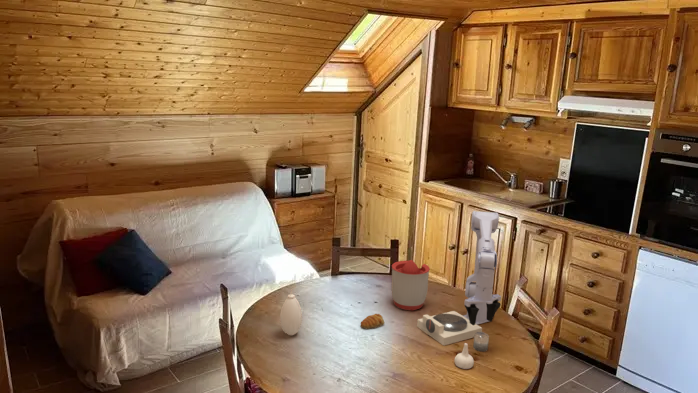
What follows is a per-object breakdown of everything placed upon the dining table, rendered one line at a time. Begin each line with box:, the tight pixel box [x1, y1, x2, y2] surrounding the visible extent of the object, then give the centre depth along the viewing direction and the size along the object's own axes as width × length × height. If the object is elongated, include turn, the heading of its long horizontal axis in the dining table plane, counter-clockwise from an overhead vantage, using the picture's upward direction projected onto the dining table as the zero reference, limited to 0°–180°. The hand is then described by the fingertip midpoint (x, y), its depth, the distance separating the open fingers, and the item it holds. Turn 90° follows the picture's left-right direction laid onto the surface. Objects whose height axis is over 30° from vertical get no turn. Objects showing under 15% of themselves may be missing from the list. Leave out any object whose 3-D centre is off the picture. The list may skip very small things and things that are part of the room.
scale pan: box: [433, 313, 467, 331], centre depth 197 cm, size 13×13×1 cm
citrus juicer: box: [390, 259, 430, 311], centre depth 218 cm, size 16×17×20 cm
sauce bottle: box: [279, 288, 303, 336], centre depth 189 cm, size 8×8×18 cm
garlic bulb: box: [454, 342, 475, 370], centre depth 174 cm, size 6×6×8 cm
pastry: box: [360, 313, 385, 330], centre depth 200 cm, size 9×7×4 cm
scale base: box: [416, 310, 483, 346], centre depth 197 cm, size 18×16×6 cm
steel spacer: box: [472, 331, 490, 353], centre depth 185 cm, size 5×5×5 cm
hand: (480, 322), depth 183 cm, fingers open, 7 cm apart
